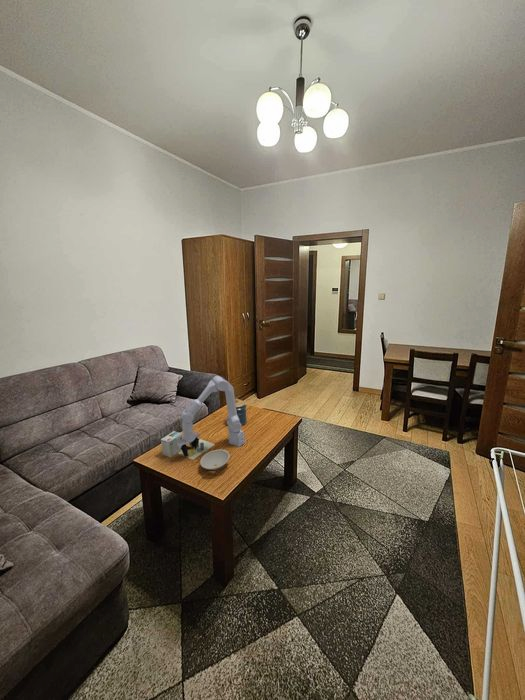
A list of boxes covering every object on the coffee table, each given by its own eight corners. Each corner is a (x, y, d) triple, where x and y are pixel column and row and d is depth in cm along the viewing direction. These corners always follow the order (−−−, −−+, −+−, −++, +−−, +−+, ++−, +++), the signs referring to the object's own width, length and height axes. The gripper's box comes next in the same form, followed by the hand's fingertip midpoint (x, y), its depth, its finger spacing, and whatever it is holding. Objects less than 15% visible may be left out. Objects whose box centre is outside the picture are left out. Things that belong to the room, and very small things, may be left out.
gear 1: (200, 444, 174) (200, 438, 174) (197, 449, 169) (196, 443, 168) (191, 443, 175) (191, 438, 175) (187, 448, 170) (187, 443, 169)
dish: (213, 455, 165) (212, 447, 164) (235, 460, 159) (235, 452, 158) (194, 473, 149) (193, 464, 148) (218, 480, 144) (217, 471, 143)
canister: (243, 427, 195) (242, 403, 191) (225, 425, 199) (224, 401, 195) (249, 419, 207) (248, 396, 203) (232, 417, 211) (231, 394, 207)
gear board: (215, 446, 174) (215, 438, 173) (193, 461, 159) (193, 453, 158) (200, 440, 181) (200, 433, 179) (177, 454, 166) (177, 446, 165)
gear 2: (197, 452, 166) (196, 447, 165) (189, 457, 161) (189, 452, 160) (190, 449, 169) (189, 444, 168) (182, 454, 164) (182, 449, 163)
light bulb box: (175, 446, 174) (173, 430, 172) (184, 449, 171) (182, 432, 169) (161, 456, 165) (160, 438, 163) (170, 459, 162) (168, 441, 159)
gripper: (192, 424, 170) (194, 445, 173) (172, 435, 158) (175, 457, 161) (201, 427, 166) (202, 448, 169) (181, 438, 154) (183, 461, 157)
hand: (189, 453), depth 165 cm, fingers closed on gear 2, 6 cm apart
